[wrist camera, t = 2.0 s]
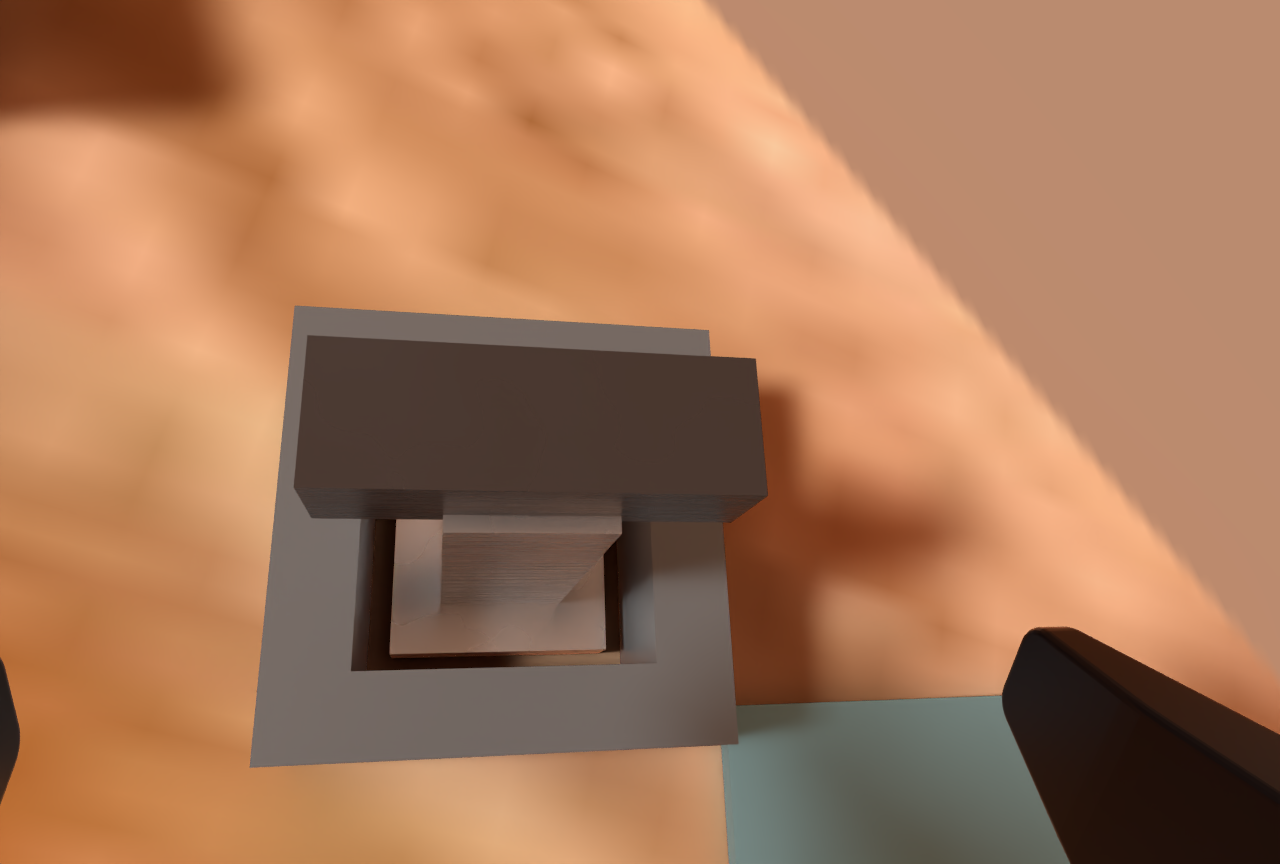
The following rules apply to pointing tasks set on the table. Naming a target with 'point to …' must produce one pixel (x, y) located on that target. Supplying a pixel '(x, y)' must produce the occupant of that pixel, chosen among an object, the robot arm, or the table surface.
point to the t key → (518, 474)
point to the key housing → (484, 697)
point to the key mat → (882, 785)
